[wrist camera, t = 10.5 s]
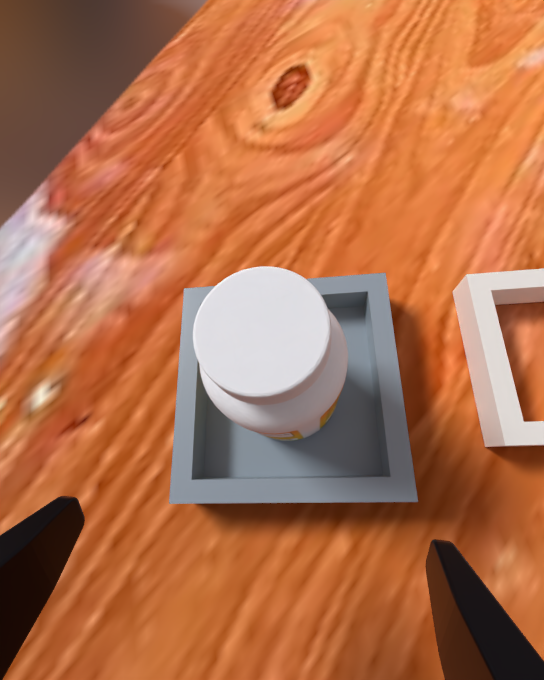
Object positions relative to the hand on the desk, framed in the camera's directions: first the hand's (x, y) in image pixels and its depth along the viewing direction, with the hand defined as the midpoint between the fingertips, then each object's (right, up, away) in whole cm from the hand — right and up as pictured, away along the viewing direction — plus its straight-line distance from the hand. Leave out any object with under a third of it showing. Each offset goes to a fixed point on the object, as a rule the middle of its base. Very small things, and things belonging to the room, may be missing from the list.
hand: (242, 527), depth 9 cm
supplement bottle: (+2, +2, +10) cm, 11 cm away
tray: (+2, +2, +11) cm, 11 cm away
